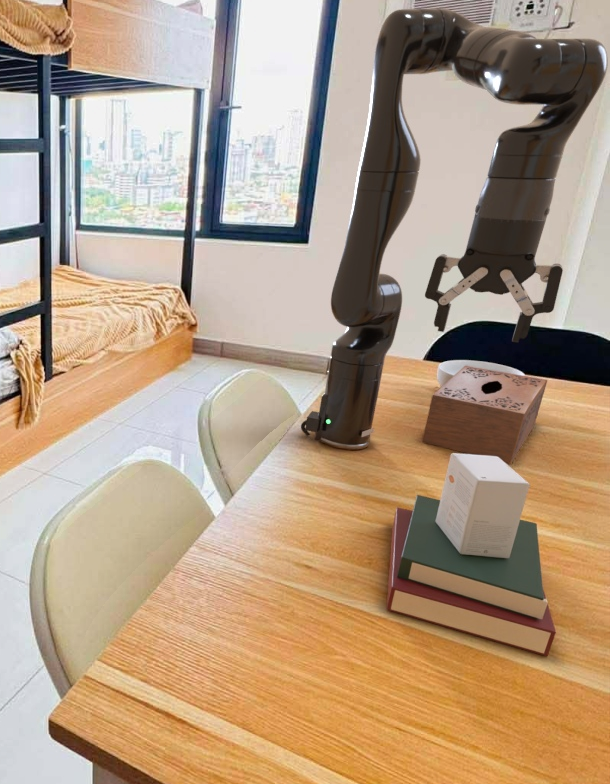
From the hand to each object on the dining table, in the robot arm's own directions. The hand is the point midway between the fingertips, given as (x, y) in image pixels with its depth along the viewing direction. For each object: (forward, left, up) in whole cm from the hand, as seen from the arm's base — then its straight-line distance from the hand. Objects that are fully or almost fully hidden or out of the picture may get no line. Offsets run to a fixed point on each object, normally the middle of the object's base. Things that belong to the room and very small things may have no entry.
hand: (476, 335), depth 87 cm
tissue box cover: (+4, +45, -30) cm, 55 cm away
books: (+4, -15, -30) cm, 34 cm away
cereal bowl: (+2, +68, -30) cm, 75 cm away
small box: (+4, -15, -24) cm, 28 cm away
